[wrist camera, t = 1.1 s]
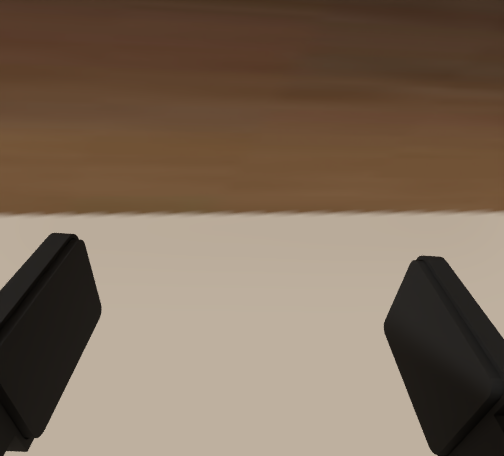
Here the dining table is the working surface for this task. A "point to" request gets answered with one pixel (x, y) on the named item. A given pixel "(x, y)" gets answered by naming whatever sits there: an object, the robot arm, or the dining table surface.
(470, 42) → the dining table surface
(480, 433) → the robot arm
